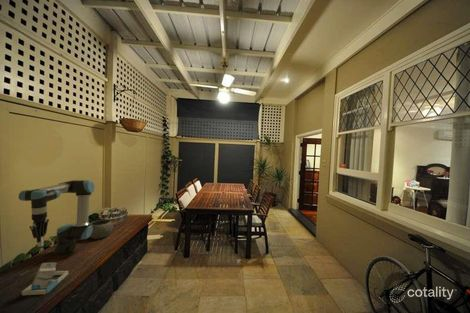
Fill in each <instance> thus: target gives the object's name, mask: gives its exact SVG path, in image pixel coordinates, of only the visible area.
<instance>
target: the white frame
mask: <svg viewBox="0 0 470 313" xmlns="http://www.w3.org/2000/svg"><path fill="white" fill-rule="evenodd" d="M68 275H69V270H57V271H55V273H54V276H59V277H58V278H56V279H52V280H51V283H50V285H49V286H48V287H47V288H45V289H36V290H32V289H31V286H32V284H33V283H32V284H30V285H28V286H27V287H26V288H25V289H23V290H22V291H21V296H32V295H33V296H34V295H35V296H36V295H46V294H48V293H49V292H51V291H52V290H53V289H54V288H55V287H57V286H58V284H59V283H60V282H61V281H62V280H63V279H64V278H66V277H67V276H68Z"/></svg>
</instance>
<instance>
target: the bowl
mask: <svg viewBox="0 0 470 313" xmlns="http://www.w3.org/2000/svg"><path fill="white" fill-rule="evenodd" d="M90 225H91V226H92V227H93V231H92V234H91V235H90V237H89V238H91V239H93V240H96V239H97V240H98V239H102V238H106V237H107V236H109V235H110V234H111V233H112V231H113V230H114V229H113V228H114V226H113V221H112V220H110V219H101V220H95V221H92V222H90Z"/></svg>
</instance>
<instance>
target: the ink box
mask: <svg viewBox="0 0 470 313" xmlns="http://www.w3.org/2000/svg"><path fill="white" fill-rule="evenodd" d="M56 266H57V262H42V263H41V264H40V267H39V268H38V269H37V273H36V274H35V276H34V279H33V282H32V286H31V290H45V289H46V288H47V287H48V286H49V285H50V283H51V280H53V278H54V276H55V275H54V273H55V271H56V270H57V269H56Z"/></svg>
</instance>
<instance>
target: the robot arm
mask: <svg viewBox="0 0 470 313" xmlns="http://www.w3.org/2000/svg"><path fill="white" fill-rule="evenodd" d="M95 187H96V186H95V182H93V181H92V180H88V179H87V180H83V179H81V180H79V179H77V180H74V179H73V180H69V181H65V182H64V181H63V182H59V183H57V184H55V185H50V186H46V187H45V186H43V187H40V188H35V189H27V190H21V191H20V192H19V194H18V199H19V200H20V201H23V202H28V201H29V202H30V203H31V220H32V225H30V226H29V229H30V231H31V233H32V234H31V235H32V237H33V239H36V243H37V246H36V247H43V246H44V239H45V238H44V237H45V236H46V234H47V231H48V230H47V229H48V224H49V222H50V219H47V218H48V206H47V204H48V203H49V202H51V201H53V200H57V199H58V198H59V197H60V196H61V194H75V197H77V202H76V203H77V205H76V223H75V224H74V223H68V224H64V225H61V226H59V227H58V228H57V230H56V246H55V248H54V252H53V253H54V255H55V256H60V255H66V254H69V253H72V252H74V251H75V250H76V249H77V245H76V243H75V241H74V240H87V239H88V238H90V235H91V234H92V231H93V227H92V226H91V225H90V224H91V222H89V215H90V214H89V212H90V196H91V195H92V194H93V193H94V192H95V189H96V188H95Z"/></svg>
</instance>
